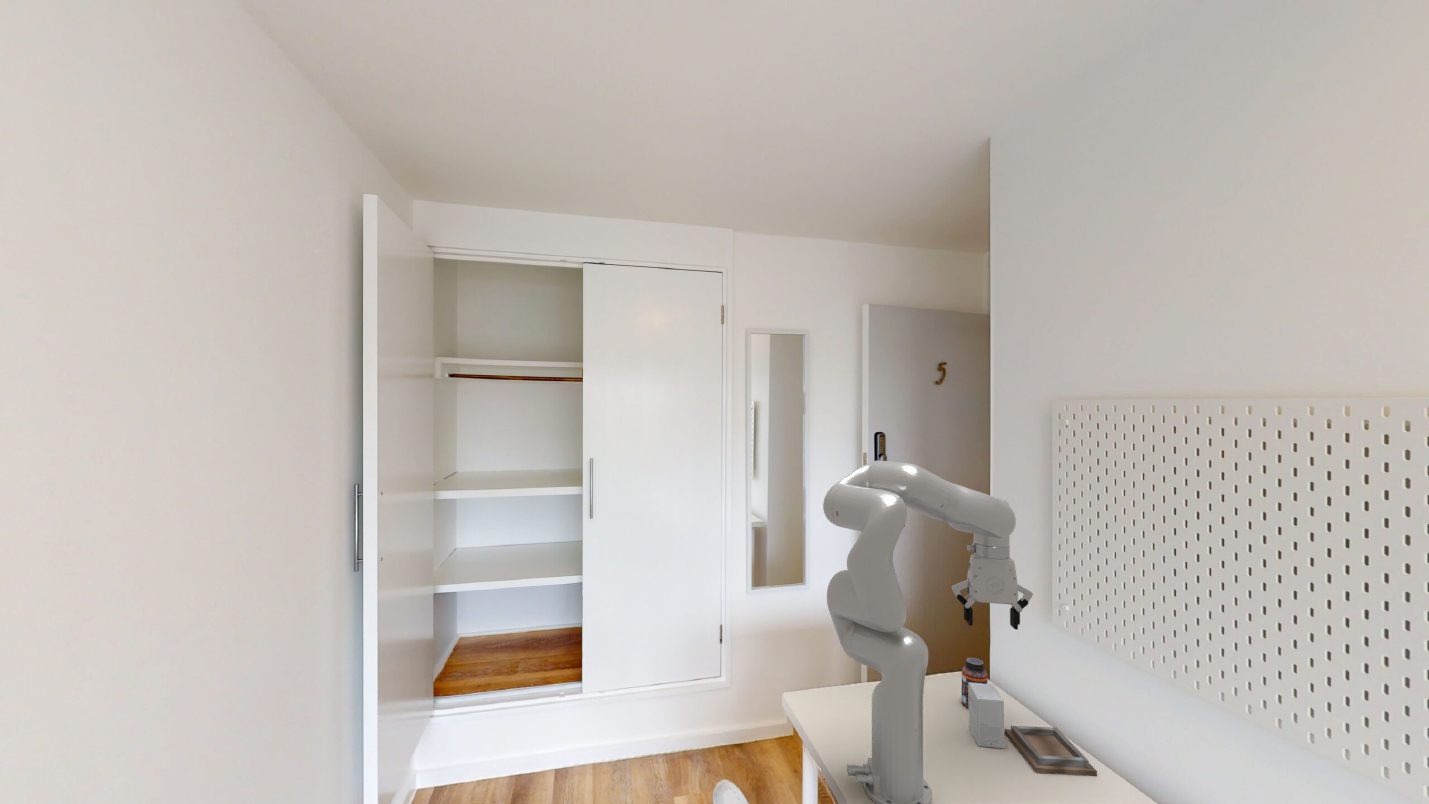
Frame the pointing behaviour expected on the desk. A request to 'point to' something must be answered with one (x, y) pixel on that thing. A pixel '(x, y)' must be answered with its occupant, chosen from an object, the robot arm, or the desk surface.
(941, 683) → the desk surface
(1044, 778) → the desk surface
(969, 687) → the small box
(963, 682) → the supplement bottle
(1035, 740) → the brown flat frame
